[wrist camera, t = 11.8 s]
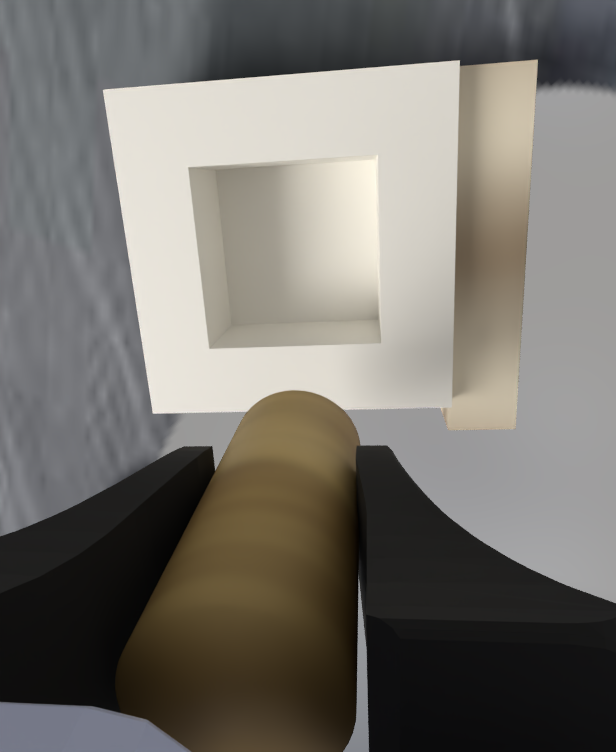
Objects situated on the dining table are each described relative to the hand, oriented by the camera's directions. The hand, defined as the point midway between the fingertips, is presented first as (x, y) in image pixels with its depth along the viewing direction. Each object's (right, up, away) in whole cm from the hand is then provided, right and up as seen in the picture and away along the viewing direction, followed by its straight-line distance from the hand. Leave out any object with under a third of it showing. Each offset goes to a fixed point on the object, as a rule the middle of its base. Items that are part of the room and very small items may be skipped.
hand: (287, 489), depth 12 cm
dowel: (0, +1, +2) cm, 2 cm away
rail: (+6, +6, +7) cm, 11 cm away
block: (0, +7, +8) cm, 10 cm away
